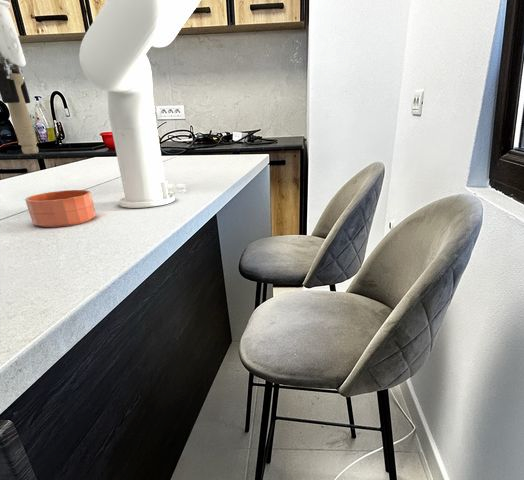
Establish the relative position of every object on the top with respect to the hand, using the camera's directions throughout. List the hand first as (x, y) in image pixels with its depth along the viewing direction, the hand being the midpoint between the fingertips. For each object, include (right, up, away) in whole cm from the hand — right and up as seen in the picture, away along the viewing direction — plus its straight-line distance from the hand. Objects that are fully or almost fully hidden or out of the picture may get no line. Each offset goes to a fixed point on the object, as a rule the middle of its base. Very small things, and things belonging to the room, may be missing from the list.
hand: (17, 102), depth 92 cm
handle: (0, -9, +5) cm, 10 cm away
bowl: (+13, -27, -5) cm, 30 cm away
